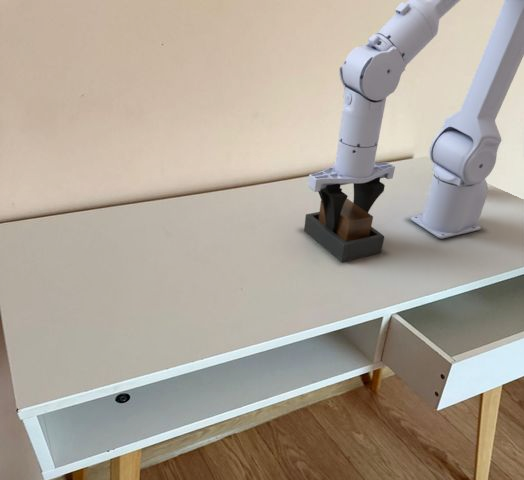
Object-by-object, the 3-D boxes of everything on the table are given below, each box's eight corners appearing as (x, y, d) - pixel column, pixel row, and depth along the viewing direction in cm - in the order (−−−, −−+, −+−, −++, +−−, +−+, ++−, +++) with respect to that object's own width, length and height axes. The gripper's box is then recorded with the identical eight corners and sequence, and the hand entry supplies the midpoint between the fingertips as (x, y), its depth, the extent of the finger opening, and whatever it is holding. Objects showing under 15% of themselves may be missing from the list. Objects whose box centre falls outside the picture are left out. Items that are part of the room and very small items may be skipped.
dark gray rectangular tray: (341, 223, 96) (344, 206, 94) (381, 252, 88) (384, 236, 86) (303, 230, 93) (305, 214, 91) (341, 262, 85) (344, 245, 83)
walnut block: (339, 221, 93) (343, 196, 90) (368, 242, 88) (373, 216, 85) (317, 225, 92) (320, 200, 89) (345, 247, 86) (349, 221, 83)
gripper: (381, 127, 86) (365, 208, 94) (301, 137, 80) (292, 223, 89) (410, 142, 81) (391, 226, 90) (328, 154, 75) (316, 243, 84)
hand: (344, 226), depth 89 cm, fingers closed on walnut block, 4 cm apart
